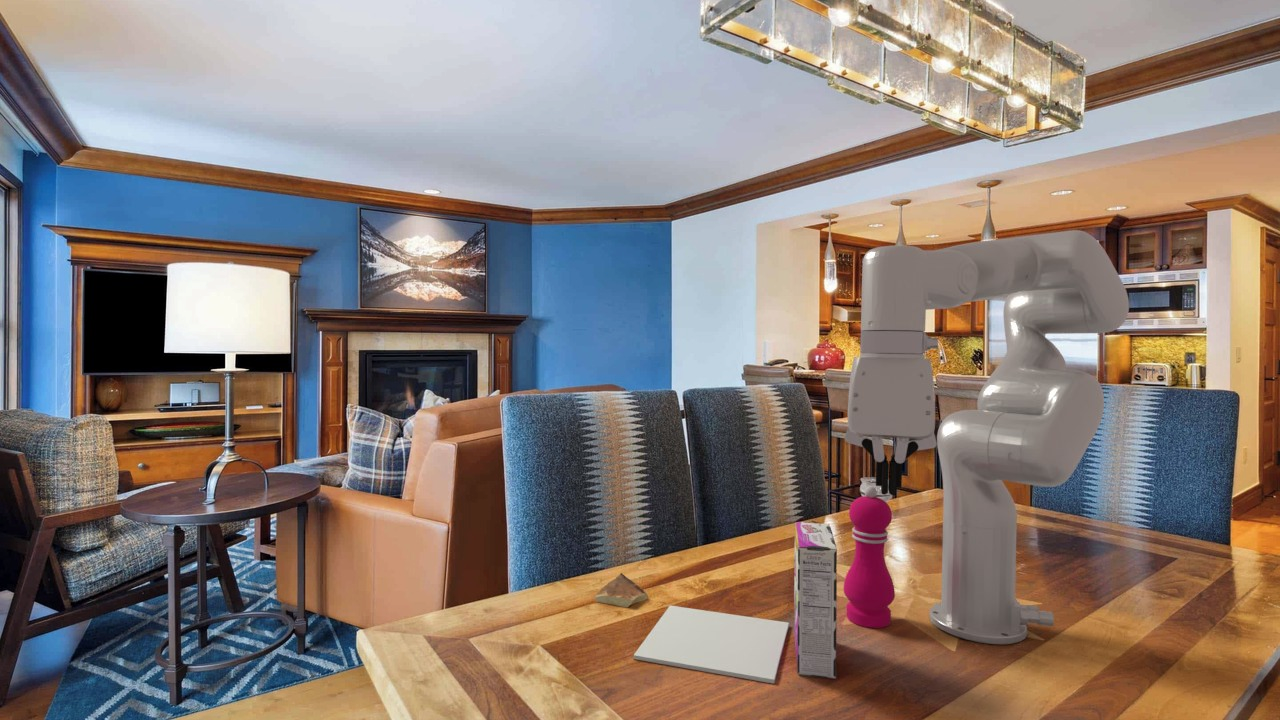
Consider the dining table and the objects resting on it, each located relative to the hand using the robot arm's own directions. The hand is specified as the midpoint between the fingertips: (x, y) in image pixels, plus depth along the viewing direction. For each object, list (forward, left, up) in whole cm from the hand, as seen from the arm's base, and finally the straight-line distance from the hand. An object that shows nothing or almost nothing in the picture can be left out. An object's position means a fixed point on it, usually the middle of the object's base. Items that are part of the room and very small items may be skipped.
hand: (888, 492), depth 81 cm
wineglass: (0, -61, -23) cm, 65 cm away
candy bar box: (+9, 0, -23) cm, 24 cm away
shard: (+41, -11, -23) cm, 48 cm away
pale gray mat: (+22, 0, -23) cm, 31 cm away
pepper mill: (+2, -15, -23) cm, 27 cm away
